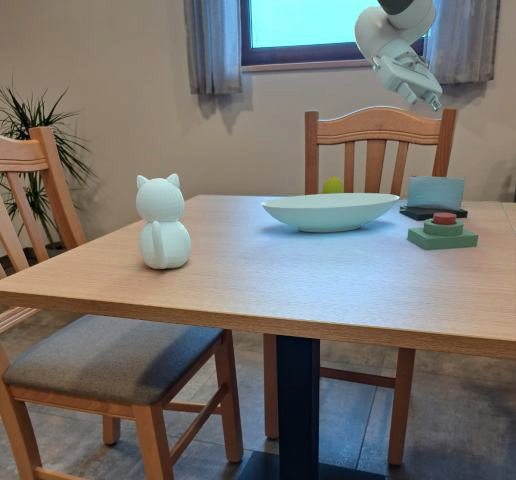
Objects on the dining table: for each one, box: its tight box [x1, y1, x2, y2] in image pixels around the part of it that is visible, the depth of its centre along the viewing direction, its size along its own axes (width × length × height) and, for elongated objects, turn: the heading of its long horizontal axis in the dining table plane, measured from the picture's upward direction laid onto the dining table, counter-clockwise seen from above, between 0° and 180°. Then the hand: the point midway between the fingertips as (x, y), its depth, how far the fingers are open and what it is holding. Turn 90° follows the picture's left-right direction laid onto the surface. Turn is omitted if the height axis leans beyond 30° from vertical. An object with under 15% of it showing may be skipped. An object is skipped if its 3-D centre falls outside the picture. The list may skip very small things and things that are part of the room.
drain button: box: [433, 213, 457, 225], centre depth 87 cm, size 4×4×2 cm
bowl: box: [261, 192, 400, 233], centre depth 100 cm, size 30×15×6 cm, turn 97°
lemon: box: [321, 175, 345, 194], centre depth 119 cm, size 6×6×8 cm
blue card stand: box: [406, 174, 466, 211], centre depth 108 cm, size 12×2×7 cm, turn 59°
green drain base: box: [406, 218, 479, 251], centre depth 88 cm, size 10×8×4 cm
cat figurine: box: [135, 173, 192, 270], centre depth 78 cm, size 9×12×15 cm
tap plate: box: [399, 205, 469, 222], centre depth 110 cm, size 16×16×2 cm
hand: (426, 105), depth 104 cm, fingers open, 8 cm apart
